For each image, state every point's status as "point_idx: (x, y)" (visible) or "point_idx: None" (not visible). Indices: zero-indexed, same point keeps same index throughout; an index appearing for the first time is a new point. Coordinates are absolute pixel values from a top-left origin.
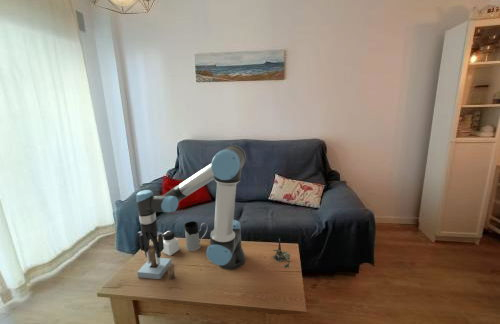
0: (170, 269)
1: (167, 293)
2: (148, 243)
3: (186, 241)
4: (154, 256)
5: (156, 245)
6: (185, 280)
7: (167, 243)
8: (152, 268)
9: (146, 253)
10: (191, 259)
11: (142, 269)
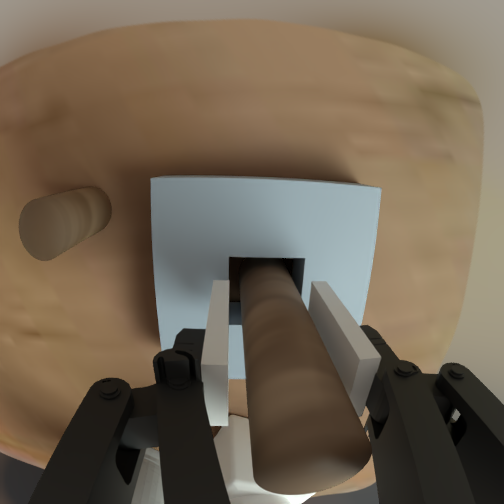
0: (32, 202)
1: (58, 65)
2: (391, 497)
3: (149, 494)
4: (250, 336)
5: (163, 495)
6: (5, 195)
7: (250, 489)
8: (262, 245)
9: (373, 347)
10: (74, 382)
11: (352, 225)
